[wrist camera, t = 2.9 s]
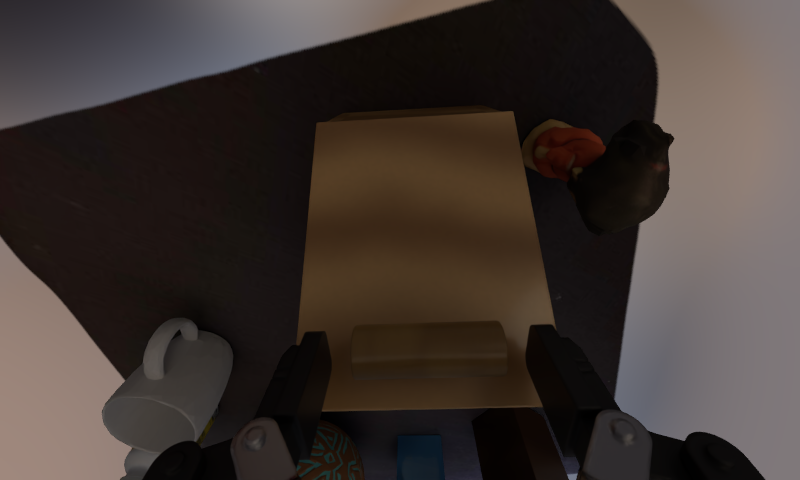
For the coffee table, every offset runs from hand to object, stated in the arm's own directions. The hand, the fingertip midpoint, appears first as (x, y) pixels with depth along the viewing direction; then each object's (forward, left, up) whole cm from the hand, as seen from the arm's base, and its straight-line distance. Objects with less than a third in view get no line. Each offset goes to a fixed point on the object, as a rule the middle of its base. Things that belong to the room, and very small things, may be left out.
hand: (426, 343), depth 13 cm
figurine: (-10, +7, -20) cm, 23 cm away
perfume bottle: (+30, +26, -20) cm, 45 cm away
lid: (-1, -1, -6) cm, 6 cm away
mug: (+30, -8, -20) cm, 37 cm away
